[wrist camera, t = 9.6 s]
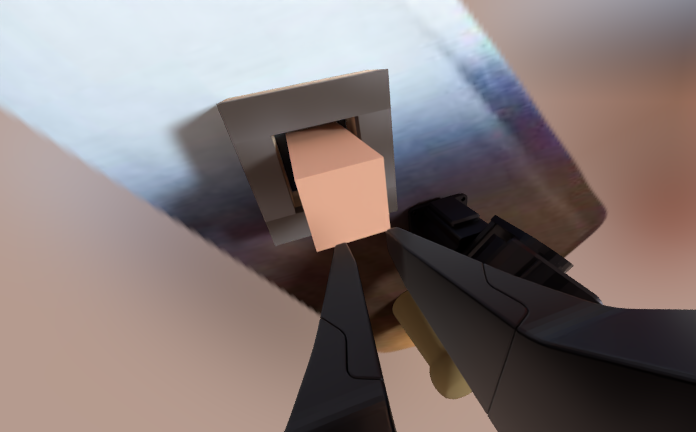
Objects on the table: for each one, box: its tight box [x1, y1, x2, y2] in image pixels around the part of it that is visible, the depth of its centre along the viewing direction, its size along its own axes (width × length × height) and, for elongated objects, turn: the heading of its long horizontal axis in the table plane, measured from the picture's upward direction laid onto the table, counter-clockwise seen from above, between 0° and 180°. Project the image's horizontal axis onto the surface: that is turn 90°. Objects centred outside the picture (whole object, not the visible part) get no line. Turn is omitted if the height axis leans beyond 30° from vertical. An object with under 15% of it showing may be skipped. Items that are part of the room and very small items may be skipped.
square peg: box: [285, 121, 390, 252], centre depth 16 cm, size 4×4×10 cm
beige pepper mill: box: [392, 290, 472, 399], centre depth 29 cm, size 6×6×11 cm
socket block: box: [216, 69, 398, 246], centre depth 18 cm, size 10×10×4 cm
